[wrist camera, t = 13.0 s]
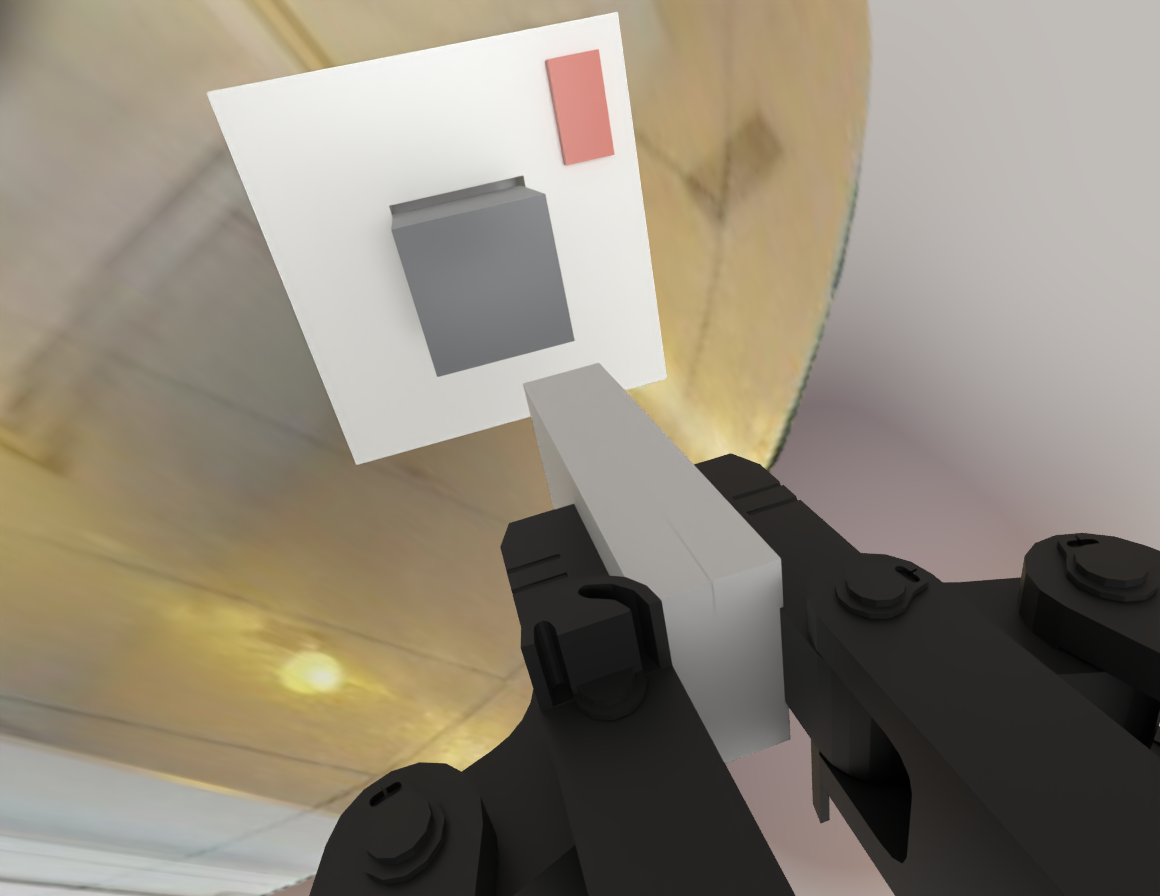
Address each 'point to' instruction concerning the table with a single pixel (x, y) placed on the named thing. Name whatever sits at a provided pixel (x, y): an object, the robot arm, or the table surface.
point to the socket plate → (436, 175)
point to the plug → (484, 277)
